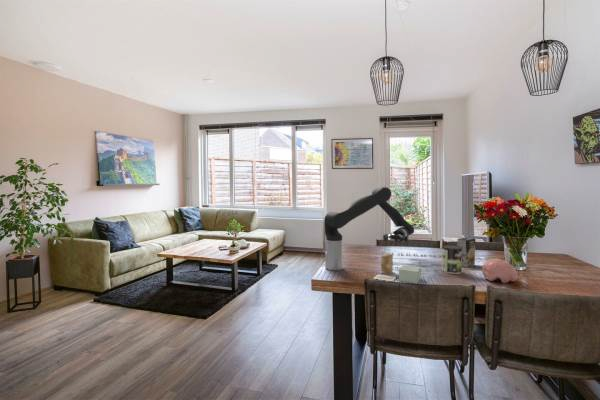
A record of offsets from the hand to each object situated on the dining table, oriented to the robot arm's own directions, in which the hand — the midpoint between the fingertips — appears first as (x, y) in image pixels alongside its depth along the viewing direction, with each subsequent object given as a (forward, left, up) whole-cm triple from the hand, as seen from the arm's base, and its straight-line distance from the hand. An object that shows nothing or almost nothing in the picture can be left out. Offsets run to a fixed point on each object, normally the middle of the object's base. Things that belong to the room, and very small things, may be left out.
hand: (392, 239), depth 189 cm
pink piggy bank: (+54, +2, -17) cm, 56 cm away
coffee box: (+37, +26, -17) cm, 48 cm away
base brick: (+14, -18, -16) cm, 28 cm away
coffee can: (+31, +8, -17) cm, 36 cm away
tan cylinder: (0, -11, -17) cm, 20 cm away
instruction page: (+2, -22, -16) cm, 28 cm away
